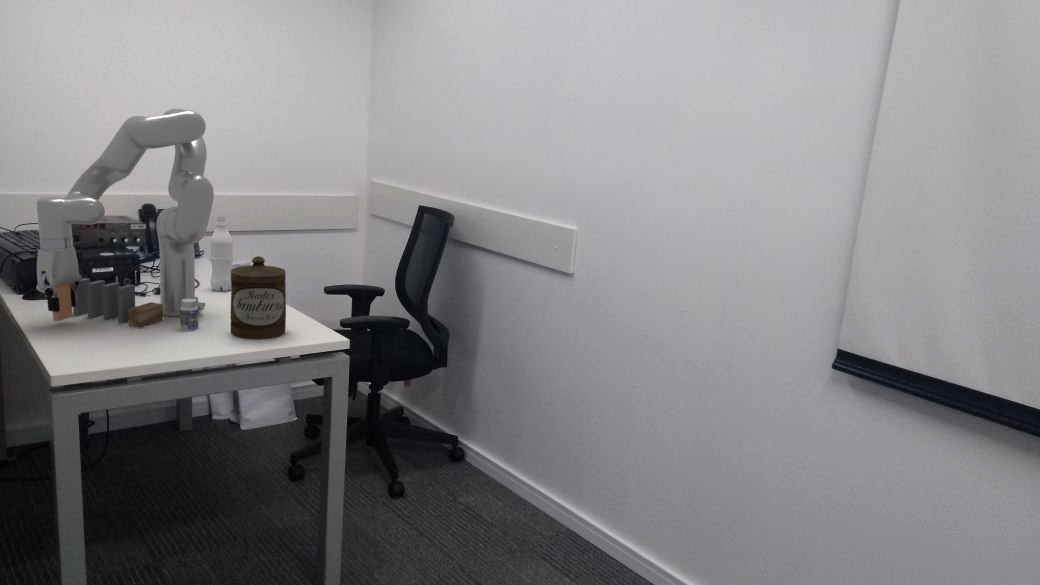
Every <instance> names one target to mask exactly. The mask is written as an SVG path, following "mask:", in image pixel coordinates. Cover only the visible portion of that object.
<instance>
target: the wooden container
mask: <svg viewBox="0 0 1040 585" xmlns="http://www.w3.org/2000/svg"><path fill="white" fill-rule="evenodd" d="M265 261H266V260H265V258H264V257H263V256H258V255H257V256H254V257H253V258H252V259H251V262H252V265H242V266H238V267H234V268H231V289H230V334H231V335H232V336H234V337H235V338H239V339H243V340H244V339H245V340H252V341H253V340H254V341H255V340H259V341H260V340H270V339H275V338H276V339H277V338H279V337H281V336H283V335H285V333H286V328H287V327H286V325H287V324H286V323H287V306H286V305H287V300H286V297H287V296H286V294H287V293H286V290H287V289H286V276H287V275H286V270H285V269H284V268H281V267H278V266H273V265H272V266H271V265H265V264H264V263H265Z"/></svg>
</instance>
